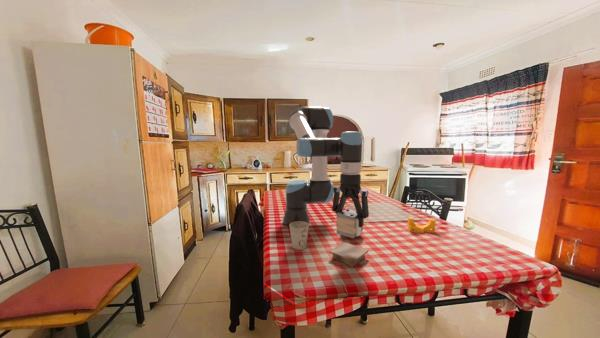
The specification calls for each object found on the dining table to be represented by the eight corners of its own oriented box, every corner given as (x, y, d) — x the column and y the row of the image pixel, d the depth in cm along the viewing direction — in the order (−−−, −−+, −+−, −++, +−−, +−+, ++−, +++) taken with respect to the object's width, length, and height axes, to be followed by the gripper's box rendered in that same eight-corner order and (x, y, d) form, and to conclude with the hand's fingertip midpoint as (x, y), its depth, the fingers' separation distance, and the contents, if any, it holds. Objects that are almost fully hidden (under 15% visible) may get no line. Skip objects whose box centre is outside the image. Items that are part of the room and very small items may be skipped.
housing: (346, 228, 91) (346, 208, 91) (361, 232, 87) (362, 211, 86) (336, 233, 86) (336, 212, 85) (352, 238, 82) (353, 216, 81)
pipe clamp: (409, 232, 113) (410, 219, 113) (407, 229, 117) (408, 217, 117) (436, 234, 110) (436, 221, 110) (433, 231, 115) (433, 218, 114)
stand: (328, 258, 87) (329, 251, 87) (343, 248, 96) (343, 241, 95) (354, 268, 80) (354, 260, 80) (368, 257, 88) (368, 249, 88)
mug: (294, 252, 92) (294, 229, 91) (282, 241, 103) (282, 220, 102) (312, 248, 96) (312, 225, 95) (298, 237, 107) (298, 217, 106)
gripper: (323, 172, 88) (322, 228, 90) (371, 176, 75) (369, 242, 77) (333, 170, 93) (333, 223, 96) (380, 174, 80) (378, 236, 83)
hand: (349, 232), depth 87 cm, fingers closed on housing, 7 cm apart
